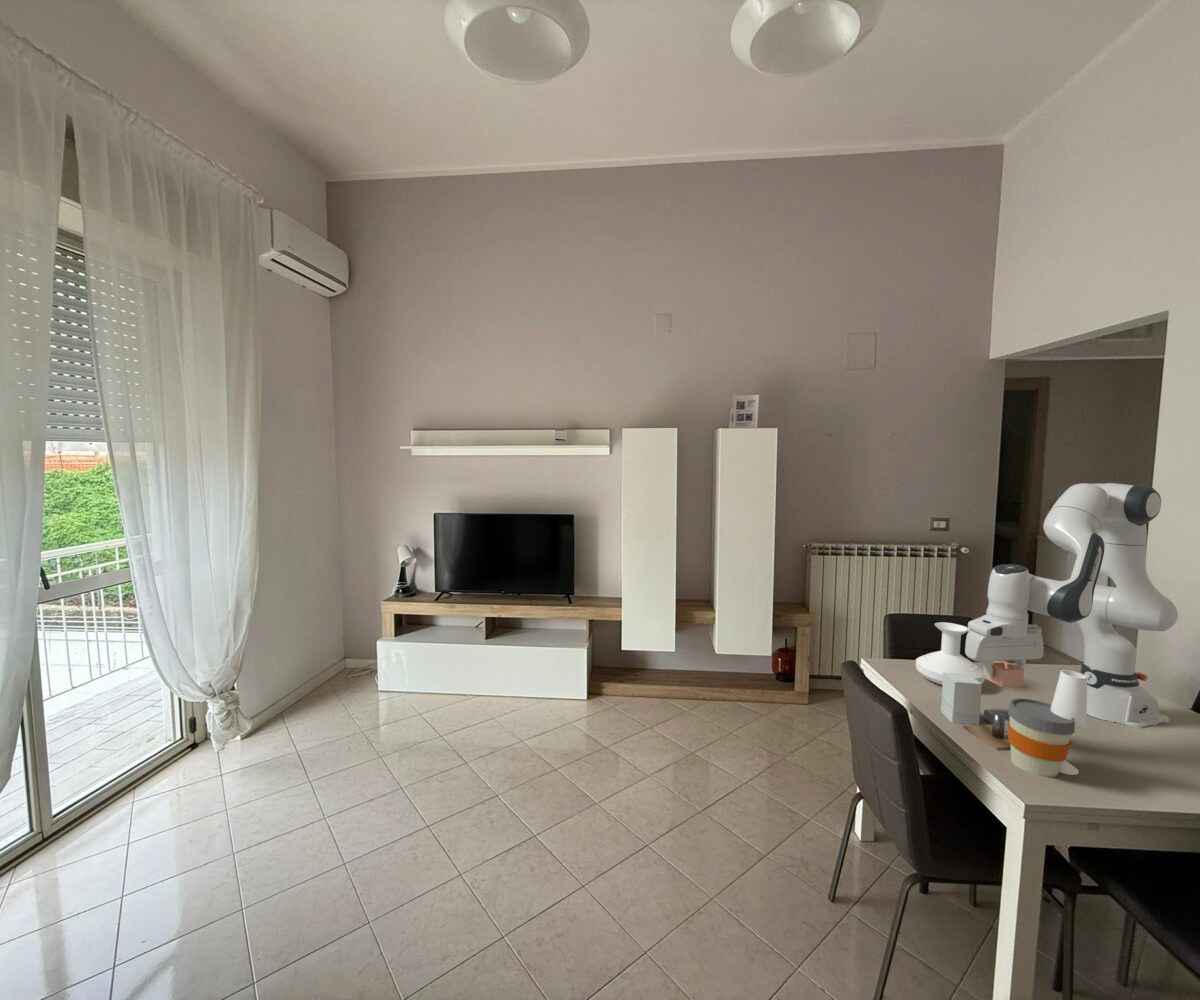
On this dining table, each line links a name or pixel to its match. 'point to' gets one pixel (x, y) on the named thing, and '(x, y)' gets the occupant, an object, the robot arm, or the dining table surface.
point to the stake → (998, 725)
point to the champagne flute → (1071, 704)
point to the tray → (989, 713)
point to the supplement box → (961, 698)
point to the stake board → (989, 736)
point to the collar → (1005, 674)
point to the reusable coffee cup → (1038, 737)
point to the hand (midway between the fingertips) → (1002, 674)
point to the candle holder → (948, 656)
